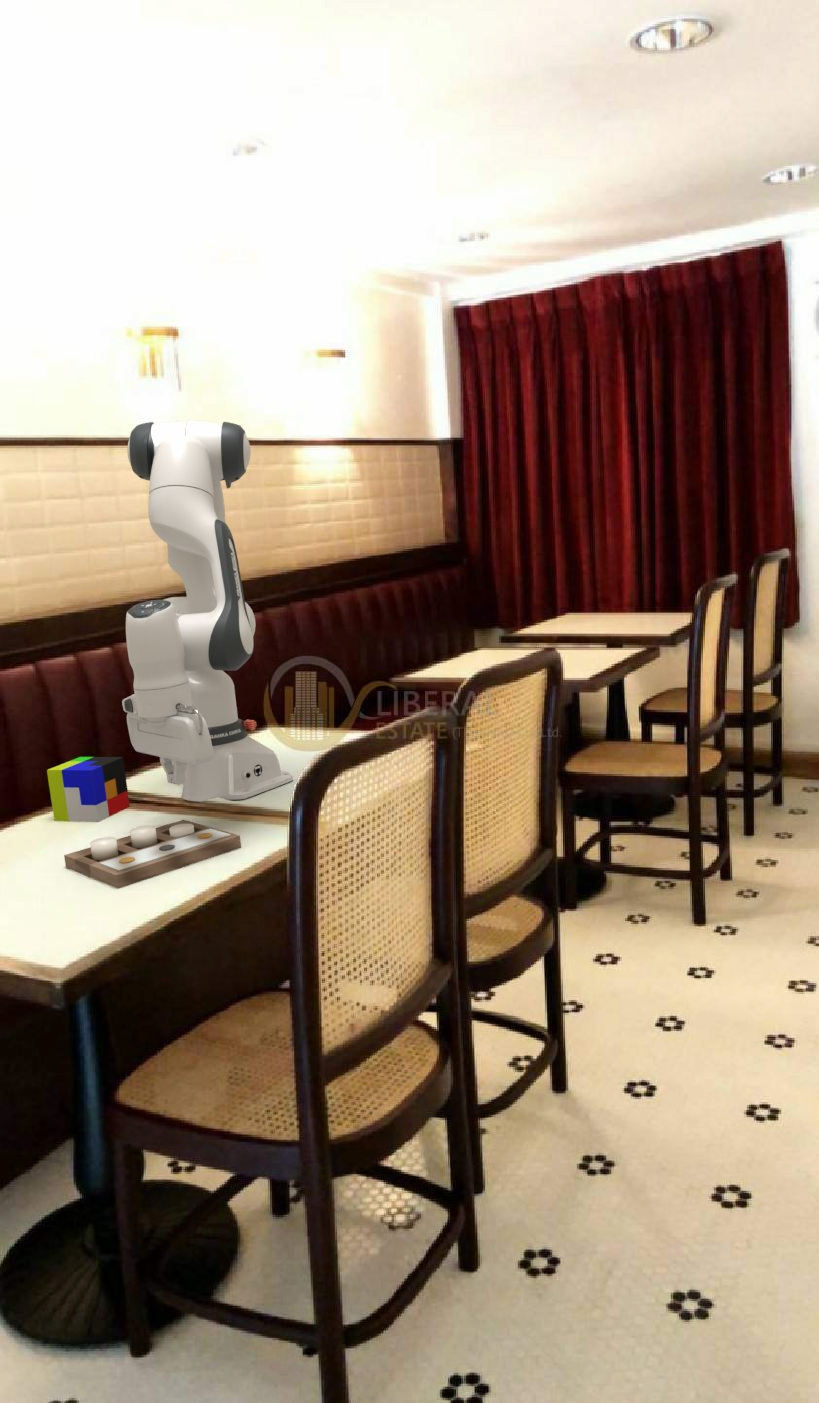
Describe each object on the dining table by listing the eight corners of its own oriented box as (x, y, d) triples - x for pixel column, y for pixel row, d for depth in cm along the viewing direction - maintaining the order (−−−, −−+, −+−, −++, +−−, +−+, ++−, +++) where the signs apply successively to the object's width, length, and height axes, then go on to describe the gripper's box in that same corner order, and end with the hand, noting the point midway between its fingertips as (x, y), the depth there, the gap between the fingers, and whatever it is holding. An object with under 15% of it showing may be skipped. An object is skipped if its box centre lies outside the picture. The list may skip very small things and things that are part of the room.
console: (185, 836, 188) (183, 816, 187) (241, 853, 176) (239, 832, 175) (66, 873, 173) (63, 852, 173) (119, 894, 161) (116, 872, 160)
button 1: (110, 850, 174) (108, 835, 174) (123, 854, 171) (121, 839, 171) (87, 857, 171) (85, 842, 171) (99, 862, 168) (97, 846, 168)
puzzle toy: (98, 822, 202) (91, 770, 200) (54, 821, 206) (46, 770, 204) (129, 807, 211) (123, 757, 209) (87, 806, 215) (79, 756, 213)
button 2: (187, 836, 184) (185, 822, 183) (200, 840, 181) (198, 826, 180) (166, 842, 181) (164, 828, 180) (179, 847, 178) (177, 832, 178)
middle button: (149, 838, 179) (147, 824, 178) (162, 842, 176) (160, 828, 175) (127, 845, 176) (125, 830, 175) (140, 849, 173) (138, 834, 173)
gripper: (215, 702, 171) (228, 786, 174) (149, 692, 186) (162, 770, 189) (181, 711, 167) (194, 797, 170) (116, 700, 182) (129, 779, 185)
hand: (177, 783), depth 180 cm, fingers closed
